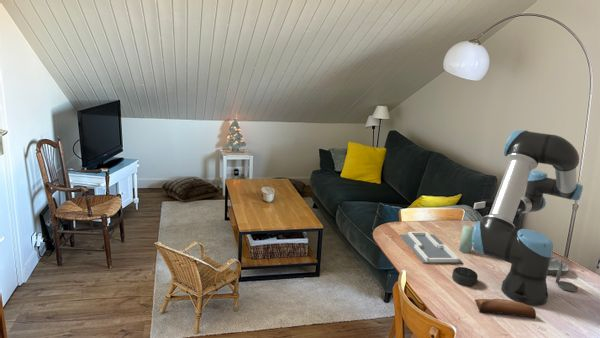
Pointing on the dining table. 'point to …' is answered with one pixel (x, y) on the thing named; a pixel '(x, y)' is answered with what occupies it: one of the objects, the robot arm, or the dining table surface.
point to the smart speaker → (464, 276)
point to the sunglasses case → (505, 307)
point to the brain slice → (557, 266)
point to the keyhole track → (429, 248)
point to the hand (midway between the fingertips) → (486, 211)
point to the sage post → (466, 239)
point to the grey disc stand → (564, 284)
